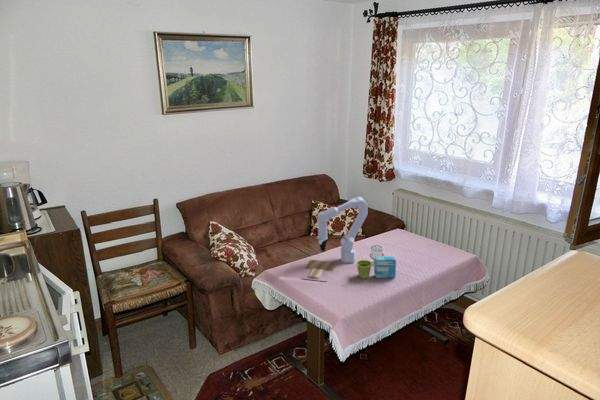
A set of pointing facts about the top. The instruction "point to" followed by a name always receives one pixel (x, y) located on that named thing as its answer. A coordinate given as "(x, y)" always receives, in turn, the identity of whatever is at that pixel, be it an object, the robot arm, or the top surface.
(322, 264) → the walnut board
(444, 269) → the top surface
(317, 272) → the birch block
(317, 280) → the charcoal mat
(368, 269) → the plant pot
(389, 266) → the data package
